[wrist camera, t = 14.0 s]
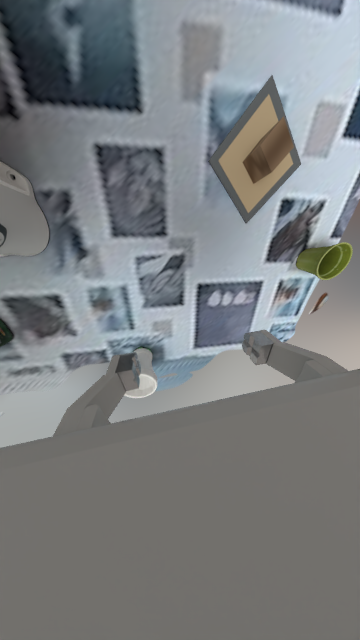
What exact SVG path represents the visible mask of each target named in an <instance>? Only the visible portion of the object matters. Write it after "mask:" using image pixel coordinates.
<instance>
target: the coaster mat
mask: <svg viewBox="0 0 360 640" xmlns="http://www.w3.org/2000/svg"><path fill="white" fill-rule="evenodd" d="M283 116H284V118H285V121H286V124H287V127H288V130H289V133H290V136H291V139H292V142H293V145H294V148H293V149H292V150H291V151H290V152H289V153H288V155H287V156H286V157H285V158H284V159H283V160H282V161H281V163H280V164H279V165H278V166H277V167H276V168H275V169H274V171H273V172H272V173H270V174H269V175H267V176H265V177H264V178H262V179H261V180H259V181H257V182H256V183H254V184H253V182H252V180H251V178H250V176H249V174H248V172H247V170H246V168H245V166H244V164H243V161H244V160H245V158H246V157H247V156H248V155H249V153H250V152H251V151H252V150H253V148H254V147H255V146H256V145H257V143H258V142H259V141H260V140H261V138H262V137H263V136H264V135H265V134H266V133H267V132H268V131H269V130H270V129H271V128H272V127H273V126H274V125H275V124H276V123H277V122H278V121H279V120H280V119H281V118H282V117H283ZM209 163H210V164H211V166H212V168H213V169H214V171H215V173H216V174H217V176H218V178H219V179H220V181H221V183H222V184H223V186H224V188H225V189H226V191H227V193H228V194H229V196H230V198H231V199H232V201H233V203H234V204H235V206H236V208H237V209H238V211H239V213H240V214H241V216H242V218H243V219H244V221H245V223H247V222H248V221H249V220H250V219H251V218H252V217H253V216H254V215H255V214H256V213H257V211H258V210H259V209H260V208H261V207H262V206H263V205H264V204H265V203H266V202H267V201H268V199H269V198H270V197H271V196H272V195H273V194H274V193H275V192H276V191H277V190H278V189H279V188H280V186H281V185H282V184H283V183H284V182H285V181H286V180H287V179H288V178H289V177H290V176H291V175H292V173H293V172H294V171H295V170H296V169H297V168H298V167H299V166H300V165H301V162H300V159H299V156H298V153H297V150H296V147H295V144H294V140H293V137H292V134H291V131H290V128H289V125H288V122H287V119H286V116H285V113H284V110H283V107H282V103H281V100H280V97H279V94H278V91H277V88H276V85H275V82H274V79H273V76H271V77H270V78H269V80H268V81H267V82H266V84H265V85H264V86H263V88H262V89H261V90H260V92H259V93H258V95H257V96H256V97H255V99H254V100H253V101H252V103H251V104H250V105H249V107H248V108H247V109H246V111H245V112H244V114H243V115H242V116H241V118H240V119H239V120H238V122H237V123H236V124H235V126H234V127H233V129H232V130H231V131H230V133H229V134H228V135H227V137H226V138H225V139H224V141H223V142H222V143H221V145H220V146H219V148H218V149H217V150H216V152H215V153H214V154H213V156H212V157H211V158H210V160H209Z"/></svg>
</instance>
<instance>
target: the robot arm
mask: <svg viewBox="0 0 360 640" xmlns="http://www.w3.org/2000/svg"><path fill="white" fill-rule="evenodd" d="M13 176H15V178H16V179H15V180H14V178H13ZM48 240H49V229H48V224H47V221H46V219H45V216H44V214H43V212H42V211H41V209H40V207H39V206H38V204H37V202H36V200H35V197H34V192H33V189H32V186H31V183H30V181H29V180H28V179H27V178H26V177H25V176H23V175H22V174H20V173H19V172H17V171H16V170H14V169H12V168H11V167H9V166H8V165H6V164H4V163H3V162H1V161H0V257H5V256H9V255H18V256H34V255H37V254H39V253H41V252H42V251H43V250H44V249H45V248H46V246H47V244H48ZM244 339H245V340H244V341H243V344H242V347H243V350H244V352H245V353H246V354H247V355H249V356H250V359H251V360H252V362H253V363H254V364H255V365H260V364H266V363H267V365H269V366H271V367H273V368H275V369H276V370H278V371H279V372H281V373H283V374H284V375H286V376H288V377H290V378H291V379H293V380H295V383H293V384H289V385H284V386H279V387H275V388H271V389H266V390H261V391H257V392H253V393H248V394H243V395H239V396H234V397H230V398H225V399H221V400H217V401H212V402H207V403H202V404H199V405H193V406H189V407H184V408H180V409H175V410H171V411H166V412H162V413H157V414H153V415H148V416H143V417H140V418H135V419H130V420H125V421H121V422H116V423H112V424H111V423H110V422H109V421H108V418H109V416H110V415H111V414H112V412H113V411H114V409H115V408H116V406H117V405H118V403H119V402H120V400H121V399H122V397H123V396H124V394H125V393H126V391H130V390H134V389H139V384H140V378H139V375H140V374H141V366H140V361H139V360H137V358H138V355H137V353H136V352H133V353H126V354H121V355H114V356H113V357H112V359H111V362H110V365H109V367H108V370H107V373H106V375H103V376H102V377H101V378H100V379H99V380H98V381H97V382H96V383H95V384H94V385H93V386H92V387H90V388H89V389H88V390H87V391H86V392H85V393H84V394H83V395H82V396H81V397H80V398H79V399H78V400H76V402H74V403H73V404H72V405H71V406H70V407H69V408H68V409H67V410H66V413H65V414H64V416H63V418H62V420H61V422H60V424H59V426H58V427H57V429H56V431H55V433H54V435H53V437H48V438H44V439H39V440H34V441H30V442H26V443H21V444H16V445H12V446H7V447H3V448H0V640H360V369H357V370H352V371H347V370H346V369H345V368H343V367H342V366H340V365H338V364H337V363H336V362H334V361H333V360H331V359H330V358H328V357H326V356H323V355H320V354H317V353H314V352H312V351H309V350H306V349H303V348H300V347H297V346H294V345H291V344H288V343H285V342H281V341H280V340H278V339H277V338H276V337H274V336H273V335H272V334H270V333H269V332H268V331H267V330H260V331H255V332H250V333H245V335H244Z"/></svg>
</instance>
